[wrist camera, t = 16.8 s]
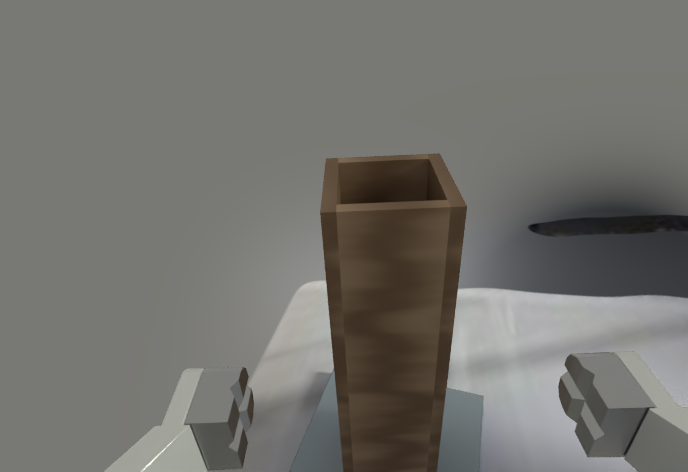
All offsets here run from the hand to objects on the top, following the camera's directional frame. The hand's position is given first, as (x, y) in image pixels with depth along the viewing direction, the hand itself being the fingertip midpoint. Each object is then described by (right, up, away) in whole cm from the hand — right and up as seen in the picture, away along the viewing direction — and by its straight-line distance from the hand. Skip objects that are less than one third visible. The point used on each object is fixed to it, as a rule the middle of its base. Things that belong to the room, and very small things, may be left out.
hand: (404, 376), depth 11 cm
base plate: (+2, -15, +24) cm, 28 cm away
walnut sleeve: (+2, -14, +23) cm, 27 cm away
